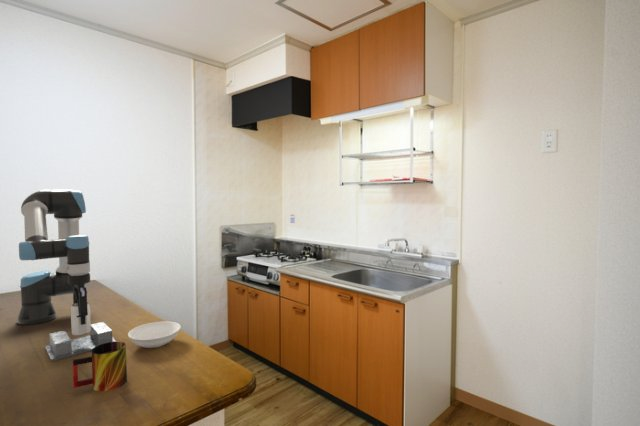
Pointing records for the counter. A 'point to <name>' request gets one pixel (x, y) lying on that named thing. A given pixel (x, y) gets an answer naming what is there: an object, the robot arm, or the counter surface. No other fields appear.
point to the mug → (104, 367)
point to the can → (75, 320)
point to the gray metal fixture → (78, 342)
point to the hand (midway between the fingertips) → (81, 329)
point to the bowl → (154, 334)
